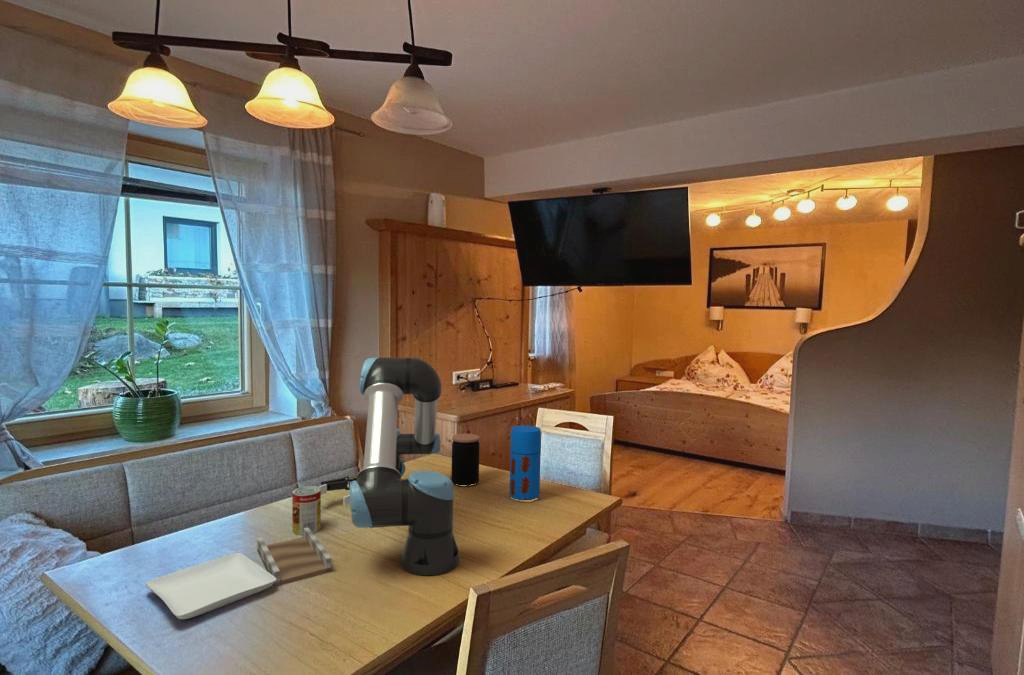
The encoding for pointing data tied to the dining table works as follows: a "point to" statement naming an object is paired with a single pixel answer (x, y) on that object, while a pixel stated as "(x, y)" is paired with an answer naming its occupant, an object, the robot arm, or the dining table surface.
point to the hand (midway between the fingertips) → (327, 497)
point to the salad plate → (210, 585)
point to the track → (294, 558)
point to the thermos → (525, 462)
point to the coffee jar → (465, 459)
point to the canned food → (306, 509)
